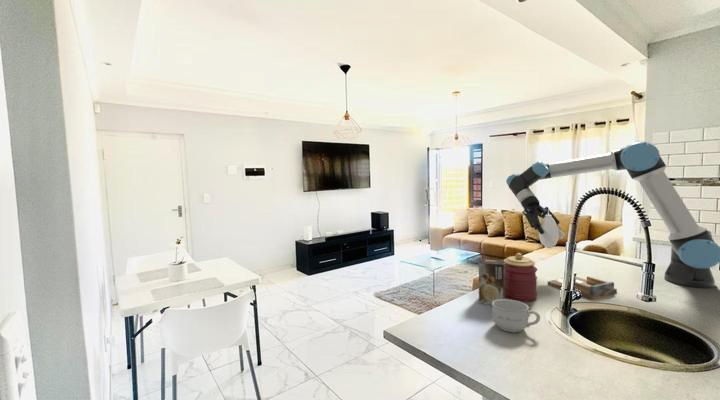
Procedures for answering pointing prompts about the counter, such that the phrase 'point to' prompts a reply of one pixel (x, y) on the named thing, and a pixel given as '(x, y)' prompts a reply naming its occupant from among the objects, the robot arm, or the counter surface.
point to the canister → (520, 278)
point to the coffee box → (491, 280)
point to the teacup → (512, 315)
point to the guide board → (589, 287)
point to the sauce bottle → (549, 231)
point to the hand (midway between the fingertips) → (555, 238)
